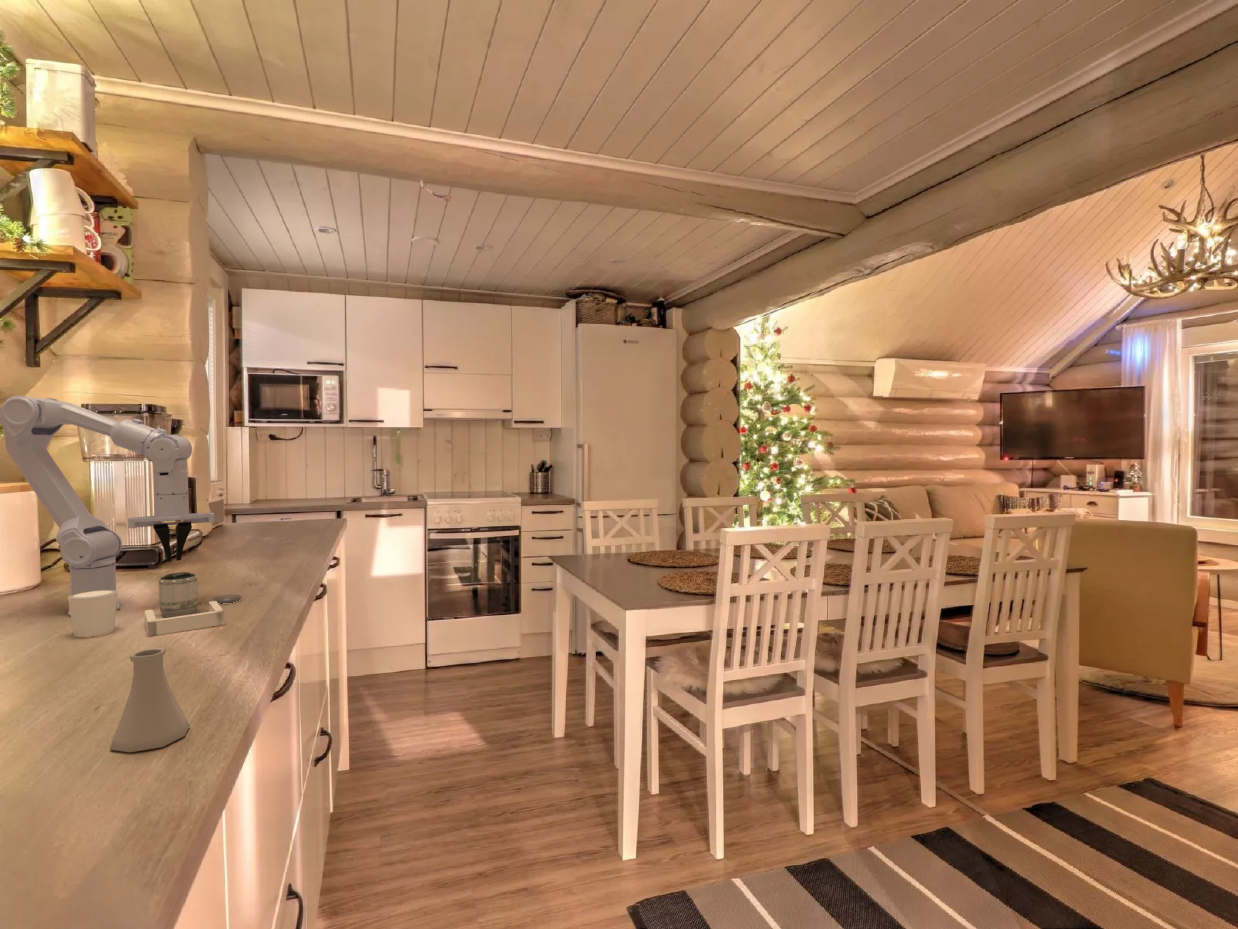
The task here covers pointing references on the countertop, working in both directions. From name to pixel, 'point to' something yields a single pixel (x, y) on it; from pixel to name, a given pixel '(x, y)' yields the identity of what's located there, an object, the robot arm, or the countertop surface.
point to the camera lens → (178, 594)
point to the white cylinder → (93, 612)
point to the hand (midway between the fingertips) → (173, 560)
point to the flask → (149, 707)
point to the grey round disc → (227, 599)
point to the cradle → (184, 621)
